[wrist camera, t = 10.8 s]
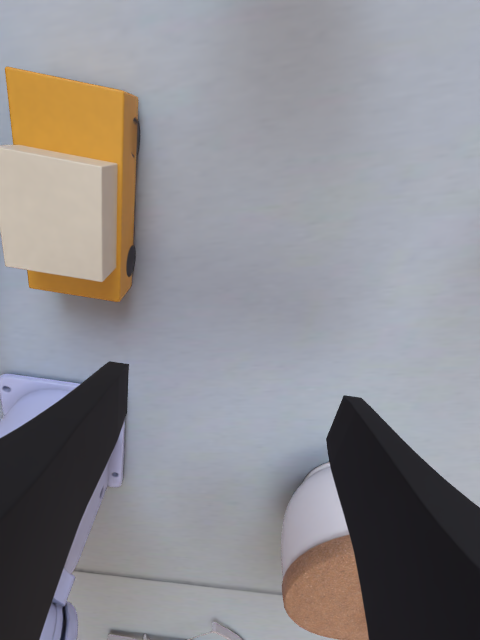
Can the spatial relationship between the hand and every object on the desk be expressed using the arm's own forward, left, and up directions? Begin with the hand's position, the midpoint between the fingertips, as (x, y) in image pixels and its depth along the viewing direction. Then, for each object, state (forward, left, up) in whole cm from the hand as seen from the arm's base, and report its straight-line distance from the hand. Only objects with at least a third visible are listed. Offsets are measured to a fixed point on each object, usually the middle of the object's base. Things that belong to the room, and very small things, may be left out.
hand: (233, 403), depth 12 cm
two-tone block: (+4, +8, -9) cm, 13 cm away
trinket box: (-15, -11, -10) cm, 21 cm away
